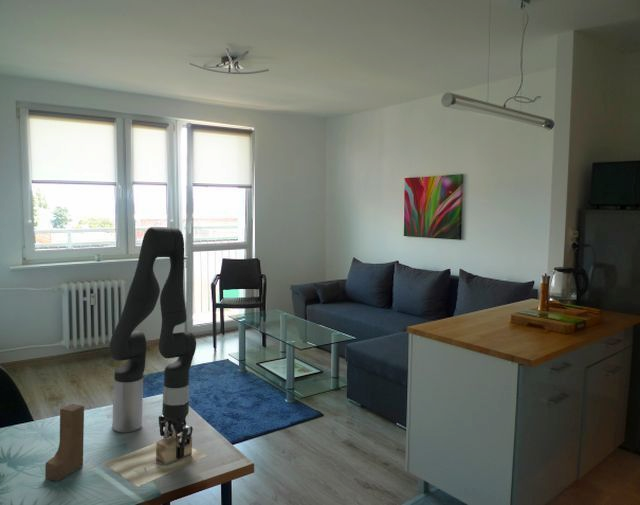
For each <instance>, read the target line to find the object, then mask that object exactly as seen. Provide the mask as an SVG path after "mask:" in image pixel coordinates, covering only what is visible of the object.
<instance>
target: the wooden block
mask: <svg viewBox="0 0 640 505" xmlns="http://www.w3.org/2000/svg"><path fill="white" fill-rule="evenodd" d="M84 427H85V406H84V405H80V404H76V403H70V404H68V405H66V406H63V407H61V408H60V409H59V443H58V444H59V445H58V448H57V451H56V452H55V454H54V456H53V457H52V458H50V459H49V460H47V461H46V462H45V474H44V475H45V479H47V480H51V481H54V482H59V481H61V480H62V479H65V477H67V476H69V475H70V474H72V473H74V472H76V471H77V470H79V469H81V468H82V467H83V466H84V439H85V438H84V437H85V436H84V435H85V434H84V433H85V430H84V429H85V428H84Z"/></svg>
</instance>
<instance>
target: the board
mask: <svg viewBox="0 0 640 505" xmlns="http://www.w3.org/2000/svg"><path fill="white" fill-rule="evenodd" d="M207 456H208V455H206V454H205V453H203V452H201V451H199V450H198V449H195V448H194V447H192V455H189V456H187V457H185V458H182V459H180V460H178V461H176V462H173V463H171V464H169V465H167V466H166V465H164V464H162V463H161V462H159V461H157V460H156V442H154V443H152V444H149V445H147V446H145V447H142V448H139V449H137V450H134V451H132V452H131V451H130V452H129V453H126V454H124V455H121V456H119V457H116V458H113V459H111V460H110V459H109V460H107V461H105V462H103V465H105V466H107V467H108V468H109V469H111V470H112V471H114V472H115V473H117V474H118V475H119V476H121V477H123V479H125V480H126V481H128V482H129V483H131V484H132V485H133V486H135V487H137V488H139V487H141V486H143V485H144V486H145V484H148V483H149V482H152V481H154V480H157V479H159V478H161V477H163V476H165V475H167V474H170V473H173V472H174V471H177V470H179V469H181V468H184V467H185V466H188V465H190V464H192V463H194V462H196V461H199V460H201V459H203V458H206V457H207Z"/></svg>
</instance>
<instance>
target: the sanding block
mask: <svg viewBox="0 0 640 505" xmlns="http://www.w3.org/2000/svg"><path fill="white" fill-rule="evenodd" d="M181 434H182V432H181V433H180V434H177V435H181ZM179 440H180V442H181V438H180V439H179ZM155 443H156V460H157V461H159V462H161V463H162V464H164V465H166V466H167V465H169V464H171V463H173V462H176V461H178V460H180V459H182V458H185V457H187V456H189V455H192V448H193V435H191V440H190V444H189V445H187V446H184V456H183V457H182V458H180V459H177V458H176V447H177V444H176V440H175V439H174V436H170V437H167V438H165V439H164V438H163V439H160V440H157V441H156V442H155Z"/></svg>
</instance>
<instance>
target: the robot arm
mask: <svg viewBox="0 0 640 505" xmlns="http://www.w3.org/2000/svg"><path fill="white" fill-rule="evenodd" d="M158 258H169V263H170V264H169V265H170V268H169V272H168V276H167V278H166V280H165V283H164V284H163V287H162V289H160V285H159V282H158V279H157V277H156V274H155V271H154V265H155V261H156V259H158ZM184 272H185V239H184V235H183V233H182V231H181V230H180V229H179V228H177V227H166V226H150V227H148V228H147V230H145V233H144V235H143V238H142V242H141V247H140V250H139V256H138V261H137V264H136V268H135V272H134V275H133V278H132V280H131V283H130V287H129V290H128V292H127V296H126V299H125V303H124V306H123V310H122V311H121V315H120V317H119V320H118V322H117V324H116V327H115V329H114V331H113V333H112V335H111V338H110V341H109V345H108V346H109V349H108V351H109V356H110V358H111V359H112V360H114V361H117V362H119V361H120V362H121V361H126V362H125V363H124V364H123V365H121V366H120V367H118V368H117V369H115V371H114V374H113V377H114V380H113V399H112V427H113V428H112V430H113V431H115V430H116V431H115V432H117V431H118V432H117V433H131V432H135V431H137V430H140V429H141V428H142V426H143V407H144V406H143V402H144V400H143V398H144V397H143V396H144V393H143V392H144V373H145V370H146V359H147V358H146V356H147V339H146V335H145V333H144V332H143V331H142V330H136V328H137V327H138V326H139V325H141V323H143V322H144V321H145V320H146V319H147V318H148V317H149V316H150V315H151V314H152V313H153V311H154V309H155V307H156V305H157V302H158V299H159V305H160V311H161V312H160V314H161V328H160V335H159V341H158V352H159V353H160V355H161V357H163V358H164V359H166V360H167V359H174V358H177V359H176V360H175V361H174V362H173V363H170V364H167V365H166V366H165V367H164V375H163V376H164V378H163V390H162V409H161V410H162V415H160V416H158V426H159V428H158V429H159V436H160V437H163V439H165V438H167V437H170V436H174V439H175V440H176V444H177V447H176V458H177V459H180V458H182V457H183V456H184V446H187V445H189V444H190V440H191V436H193V435H192V434H193V430H194V428H193V426H190V425H189V426H188V425H187V421H186V420H187V416H188V415H189V411H190V385H189V384H190V382H189V381H190V370H191V369H190V368H191V365H192V362H193V359H194V356H195V354H196V350H197V339H196V337H195V335H194V334H193V333H192V332H190V331H180V332H174V329H175V327H177V326H179V325H182V324H184V323H186V321H187V317H188V316H187V312H186V311H187V310H186V309H187V308H186V302H185V293H184V292H185V291H184V276H185V275H184V274H185V273H184ZM159 297H160V298H159ZM181 432H182V434H181V435H177V434H180V433H181ZM180 438H181V442H180V440H179V439H180Z"/></svg>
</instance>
